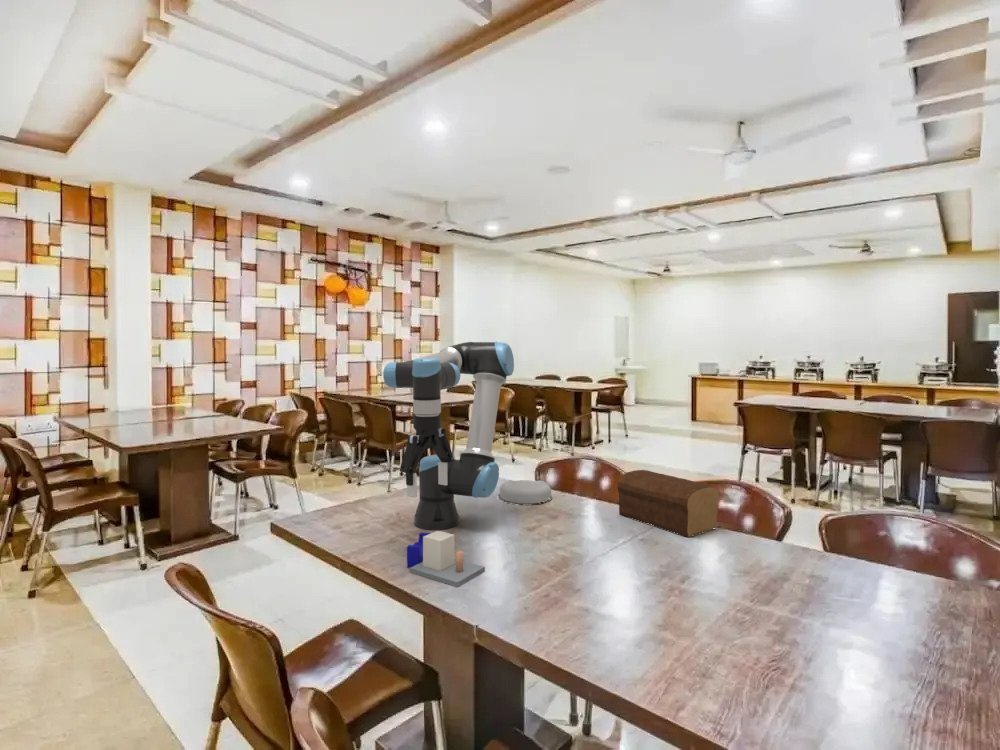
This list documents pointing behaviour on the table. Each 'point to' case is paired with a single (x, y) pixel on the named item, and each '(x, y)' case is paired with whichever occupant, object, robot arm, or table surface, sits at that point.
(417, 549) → the blue arched piece
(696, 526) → the bread
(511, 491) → the round ceiling alarm
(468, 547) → the table surface
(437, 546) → the cream rectangular block
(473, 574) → the board
